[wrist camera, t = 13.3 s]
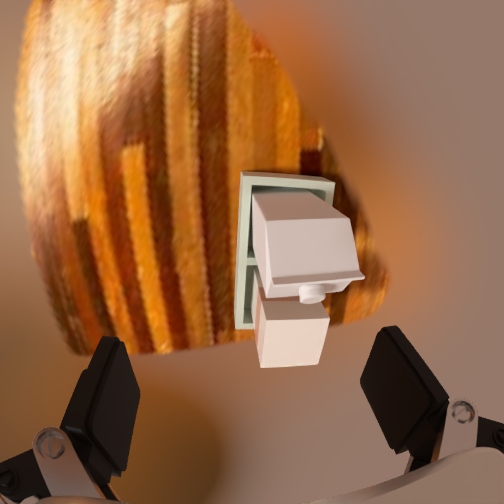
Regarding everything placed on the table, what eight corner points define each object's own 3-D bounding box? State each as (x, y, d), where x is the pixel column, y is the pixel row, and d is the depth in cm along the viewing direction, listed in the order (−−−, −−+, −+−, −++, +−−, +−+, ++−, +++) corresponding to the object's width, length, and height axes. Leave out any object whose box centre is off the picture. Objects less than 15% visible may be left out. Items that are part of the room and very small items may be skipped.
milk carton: (249, 188, 36) (273, 238, 19) (303, 186, 37) (371, 233, 19) (250, 240, 39) (273, 326, 21) (301, 237, 39) (358, 316, 22)
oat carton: (252, 260, 40) (265, 319, 27) (298, 261, 41) (330, 317, 28) (249, 301, 43) (260, 368, 30) (292, 301, 43) (318, 364, 30)
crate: (241, 171, 36) (243, 175, 31) (322, 177, 37) (335, 182, 33) (234, 310, 44) (235, 329, 39) (302, 309, 45) (310, 327, 41)
